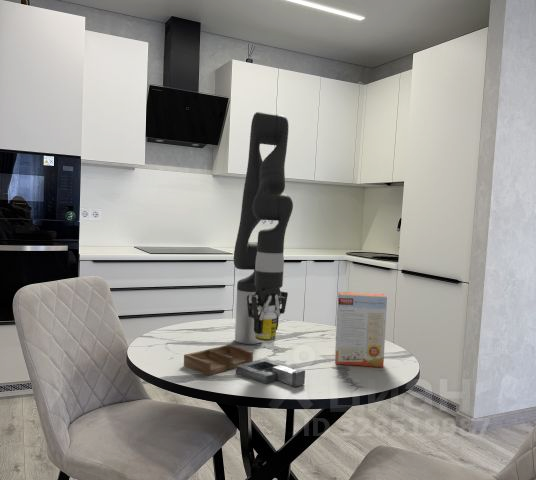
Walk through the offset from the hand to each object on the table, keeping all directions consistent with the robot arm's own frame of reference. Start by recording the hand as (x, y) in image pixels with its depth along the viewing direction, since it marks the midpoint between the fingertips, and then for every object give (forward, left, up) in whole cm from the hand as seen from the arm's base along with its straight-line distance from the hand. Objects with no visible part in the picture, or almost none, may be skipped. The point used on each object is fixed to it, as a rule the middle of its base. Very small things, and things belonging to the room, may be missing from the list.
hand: (266, 331), depth 135 cm
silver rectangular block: (0, +8, -11) cm, 14 cm away
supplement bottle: (0, 0, -3) cm, 3 cm away
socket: (0, 0, -12) cm, 12 cm away
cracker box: (-29, +11, -12) cm, 33 cm away
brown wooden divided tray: (+4, -14, -12) cm, 18 cm away
